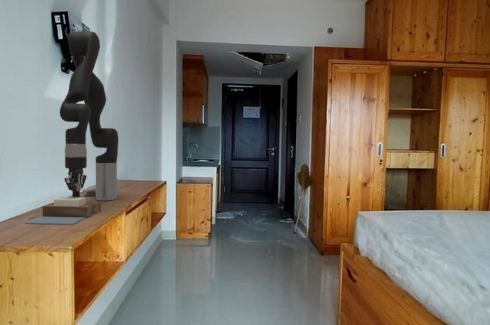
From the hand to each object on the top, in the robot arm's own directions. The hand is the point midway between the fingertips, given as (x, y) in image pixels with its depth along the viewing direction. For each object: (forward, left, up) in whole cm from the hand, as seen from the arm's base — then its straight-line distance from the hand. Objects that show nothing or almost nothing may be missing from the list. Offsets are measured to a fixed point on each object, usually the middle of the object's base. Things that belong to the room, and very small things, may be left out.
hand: (76, 200), depth 133 cm
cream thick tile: (+5, 0, -1) cm, 5 cm away
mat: (+14, 0, -5) cm, 15 cm away
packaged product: (-43, -5, -2) cm, 44 cm away
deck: (+3, 0, -5) cm, 6 cm away
